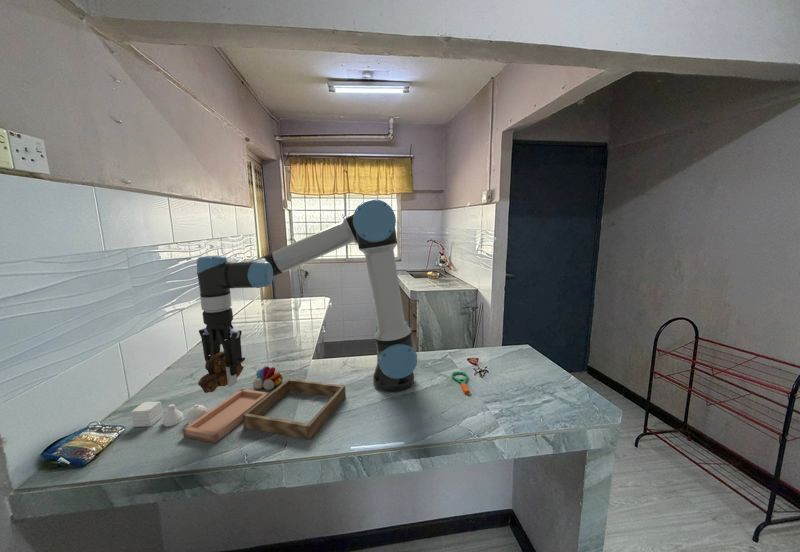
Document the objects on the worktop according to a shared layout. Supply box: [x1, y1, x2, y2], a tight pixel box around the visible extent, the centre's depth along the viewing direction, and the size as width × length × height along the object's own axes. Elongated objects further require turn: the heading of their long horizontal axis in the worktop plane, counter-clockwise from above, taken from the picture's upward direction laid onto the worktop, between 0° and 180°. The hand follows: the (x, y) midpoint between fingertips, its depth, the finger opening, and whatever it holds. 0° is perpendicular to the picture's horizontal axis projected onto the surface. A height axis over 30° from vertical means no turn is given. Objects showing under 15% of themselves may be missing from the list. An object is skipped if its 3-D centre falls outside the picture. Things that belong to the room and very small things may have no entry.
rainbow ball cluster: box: [252, 366, 284, 391], centre depth 114 cm, size 8×10×7 cm
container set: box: [130, 401, 208, 428], centre depth 94 cm, size 20×5×6 cm, turn 91°
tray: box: [182, 388, 270, 444], centre depth 96 cm, size 11×22×2 cm, turn 164°
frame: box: [242, 378, 347, 441], centre depth 98 cm, size 22×22×4 cm
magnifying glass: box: [451, 371, 471, 395], centre depth 112 cm, size 15×6×2 cm, turn 2°
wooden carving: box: [197, 350, 246, 394], centre depth 93 cm, size 16×5×10 cm, turn 172°
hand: (226, 383), depth 94 cm, fingers closed on wooden carving, 4 cm apart
